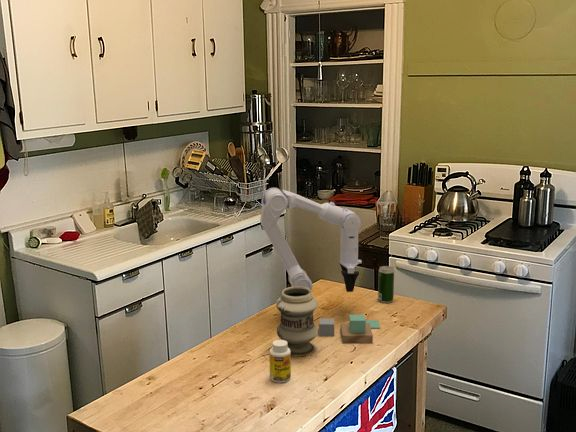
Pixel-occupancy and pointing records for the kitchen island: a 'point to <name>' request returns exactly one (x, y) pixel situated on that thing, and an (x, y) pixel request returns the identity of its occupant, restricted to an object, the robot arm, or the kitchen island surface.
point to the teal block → (357, 324)
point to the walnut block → (356, 334)
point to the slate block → (326, 327)
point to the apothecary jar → (297, 319)
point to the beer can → (386, 284)
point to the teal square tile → (373, 324)
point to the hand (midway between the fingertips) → (348, 287)
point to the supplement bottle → (280, 361)
